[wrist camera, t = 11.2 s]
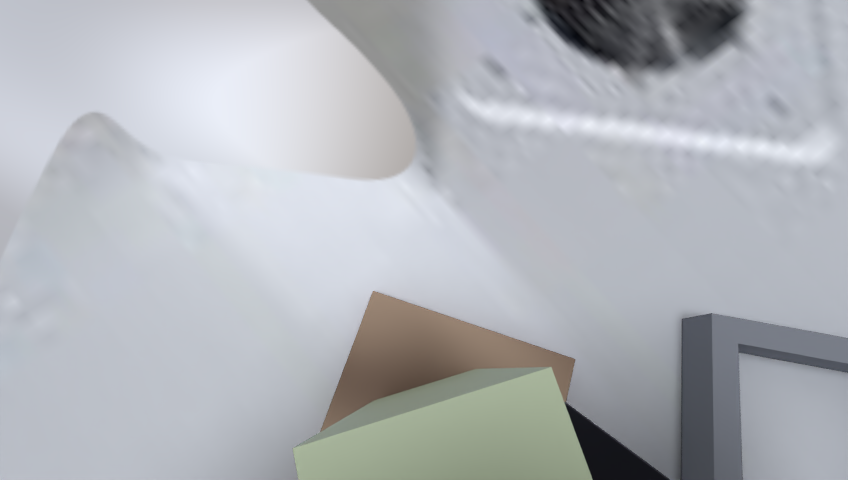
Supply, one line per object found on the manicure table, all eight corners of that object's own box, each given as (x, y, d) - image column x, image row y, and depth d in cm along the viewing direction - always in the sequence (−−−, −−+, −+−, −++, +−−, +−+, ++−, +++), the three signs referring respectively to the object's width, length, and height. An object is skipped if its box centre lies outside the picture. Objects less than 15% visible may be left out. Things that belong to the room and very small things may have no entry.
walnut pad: (515, 595, 16) (520, 607, 15) (295, 508, 17) (288, 515, 16) (569, 359, 18) (575, 359, 17) (375, 294, 19) (373, 290, 18)
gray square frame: (926, 603, 16) (996, 636, 14) (680, 551, 16) (715, 576, 14) (892, 357, 18) (948, 356, 16) (682, 319, 19) (711, 313, 17)
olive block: (511, 482, 15) (669, 688, 5) (402, 519, 14) (358, 808, 5) (475, 368, 16) (551, 366, 6) (374, 400, 16) (292, 447, 6)
